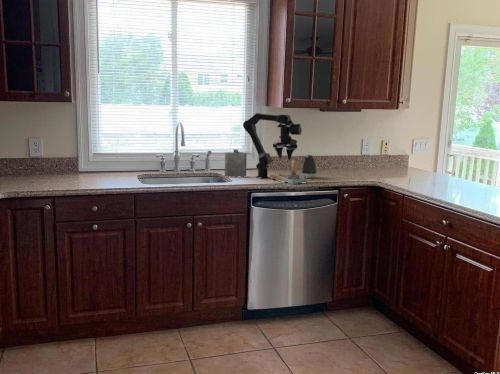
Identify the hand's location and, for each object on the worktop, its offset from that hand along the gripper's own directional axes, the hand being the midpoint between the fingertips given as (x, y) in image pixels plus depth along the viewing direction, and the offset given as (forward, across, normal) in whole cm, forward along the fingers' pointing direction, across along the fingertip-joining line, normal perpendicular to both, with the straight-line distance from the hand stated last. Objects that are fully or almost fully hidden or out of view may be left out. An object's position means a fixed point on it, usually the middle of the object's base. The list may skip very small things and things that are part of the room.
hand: (284, 159), depth 321 cm
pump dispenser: (+14, -2, -18) cm, 23 cm away
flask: (+13, +25, +22) cm, 36 cm away
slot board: (+13, 0, +2) cm, 13 cm away
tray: (+13, -12, +2) cm, 18 cm away
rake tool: (+13, -12, +2) cm, 17 cm away
